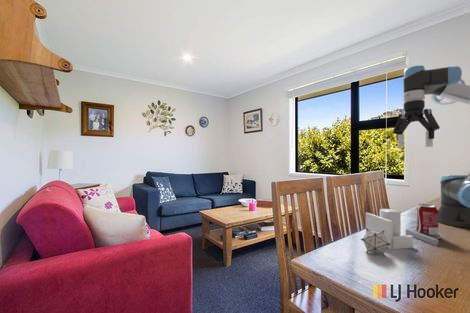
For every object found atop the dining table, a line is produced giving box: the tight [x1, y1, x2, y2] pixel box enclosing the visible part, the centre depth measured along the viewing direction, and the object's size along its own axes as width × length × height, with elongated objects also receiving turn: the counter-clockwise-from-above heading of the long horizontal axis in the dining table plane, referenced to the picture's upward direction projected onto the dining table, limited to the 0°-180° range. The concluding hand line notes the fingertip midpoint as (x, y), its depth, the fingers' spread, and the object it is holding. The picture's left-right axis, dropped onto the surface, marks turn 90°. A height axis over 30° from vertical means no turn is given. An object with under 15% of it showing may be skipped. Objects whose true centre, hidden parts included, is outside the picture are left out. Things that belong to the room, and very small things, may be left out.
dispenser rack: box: [365, 208, 439, 250], centre depth 86 cm, size 20×12×12 cm, turn 99°
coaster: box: [411, 229, 441, 240], centre depth 91 cm, size 9×9×1 cm
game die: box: [360, 227, 390, 257], centre depth 75 cm, size 9×8×10 cm
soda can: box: [415, 203, 439, 236], centre depth 91 cm, size 7×7×12 cm
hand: (414, 147), depth 102 cm, fingers open, 13 cm apart
